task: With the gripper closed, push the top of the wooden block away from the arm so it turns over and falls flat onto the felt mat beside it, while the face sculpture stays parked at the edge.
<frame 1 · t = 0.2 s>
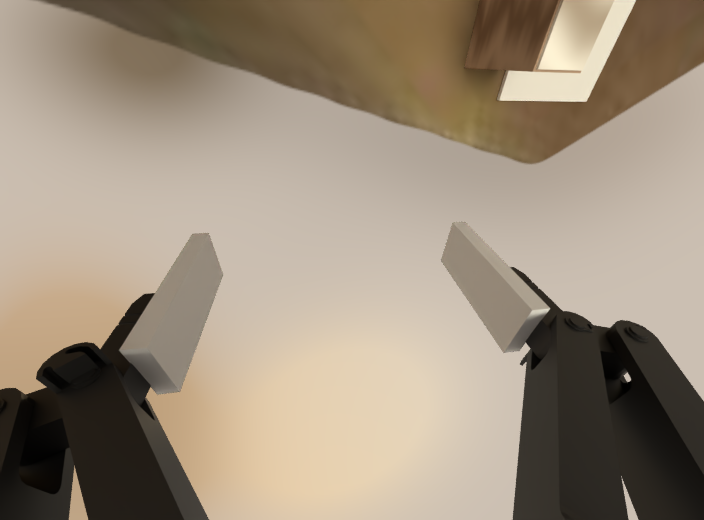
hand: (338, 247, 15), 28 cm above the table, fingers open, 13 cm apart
felt mat: (570, 27, 33), on the table
wooden block: (494, 22, 32), on the table
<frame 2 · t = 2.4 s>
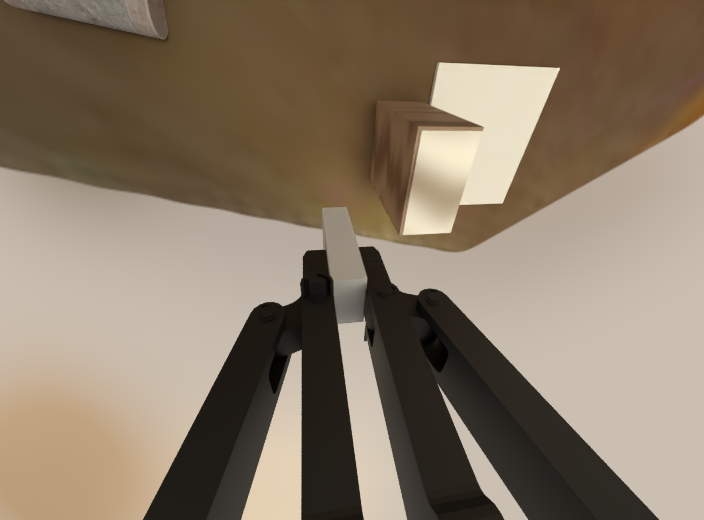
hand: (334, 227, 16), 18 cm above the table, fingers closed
felt mat: (474, 144, 33), on the table
wooden block: (393, 144, 31), on the table
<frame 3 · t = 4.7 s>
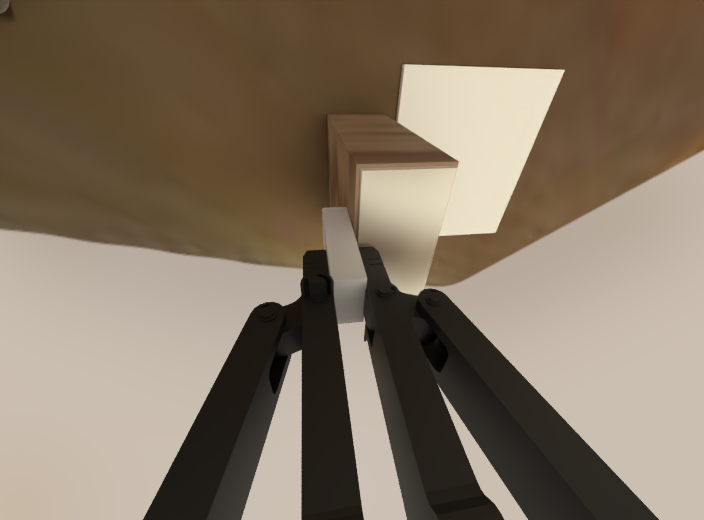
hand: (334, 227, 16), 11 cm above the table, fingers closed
felt mat: (457, 165, 26), on the table
wooden block: (354, 167, 25), on the table, touching gripper
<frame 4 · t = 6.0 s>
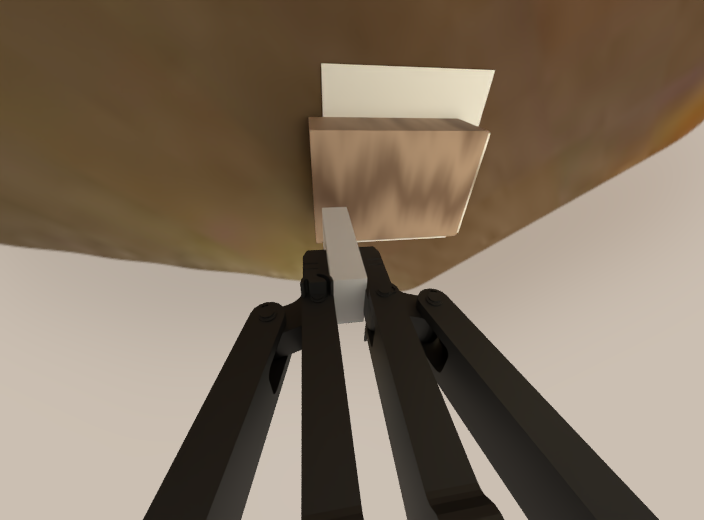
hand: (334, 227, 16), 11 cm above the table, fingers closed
felt mat: (396, 168, 26), on the table
wooden block: (312, 182, 22), point 3 cm above the table, tilted 90°, touching felt mat
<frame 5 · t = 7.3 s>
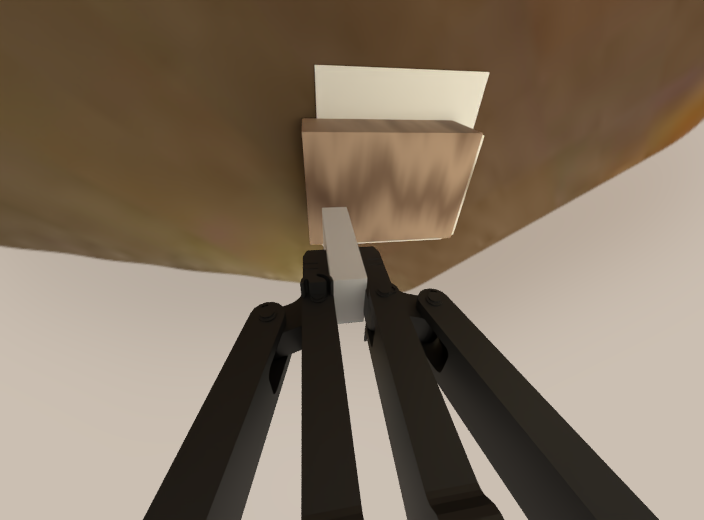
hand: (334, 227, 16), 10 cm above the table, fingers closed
felt mat: (391, 170, 25), on the table
wooden block: (306, 183, 22), point 3 cm above the table, tilted 90°, touching felt mat
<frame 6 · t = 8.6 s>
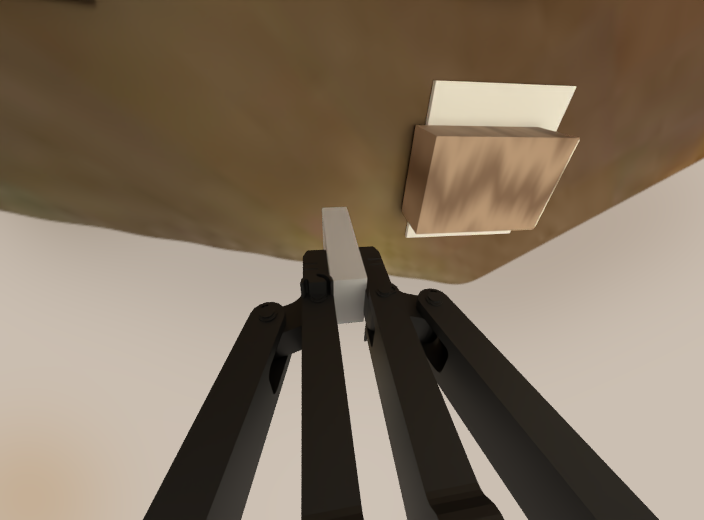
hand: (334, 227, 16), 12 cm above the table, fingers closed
felt mat: (477, 170, 29), on the table
wooden block: (415, 181, 25), point 3 cm above the table, tilted 90°, touching felt mat
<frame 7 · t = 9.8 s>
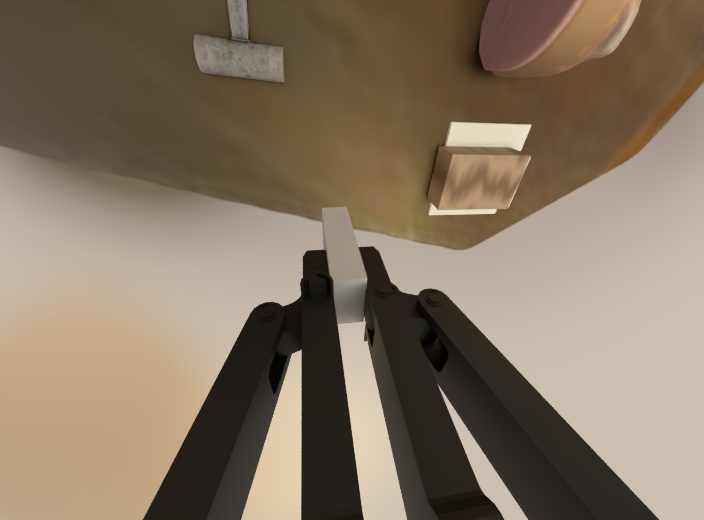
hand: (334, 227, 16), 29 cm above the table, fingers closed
felt mat: (474, 172, 47), on the table
wooden block: (438, 178, 43), point 3 cm above the table, tilted 90°, touching felt mat
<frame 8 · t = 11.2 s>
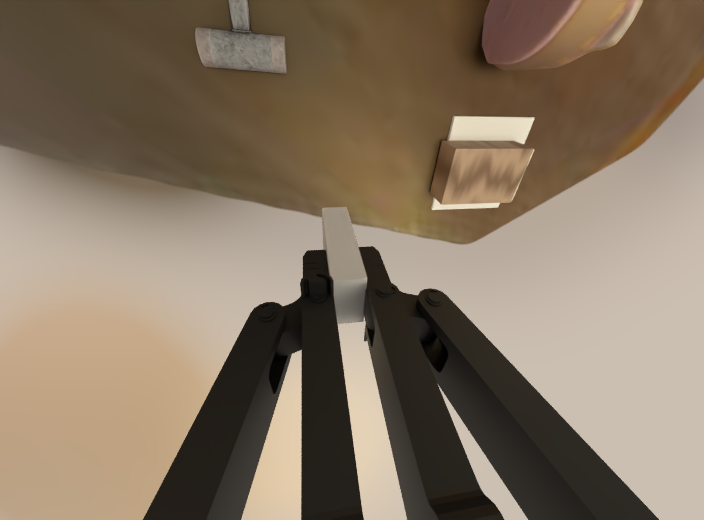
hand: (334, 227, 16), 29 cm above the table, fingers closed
felt mat: (477, 166, 47), on the table
wooden block: (441, 173, 43), point 3 cm above the table, tilted 90°, touching felt mat
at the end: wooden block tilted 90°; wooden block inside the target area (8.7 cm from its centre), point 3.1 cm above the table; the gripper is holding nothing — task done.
